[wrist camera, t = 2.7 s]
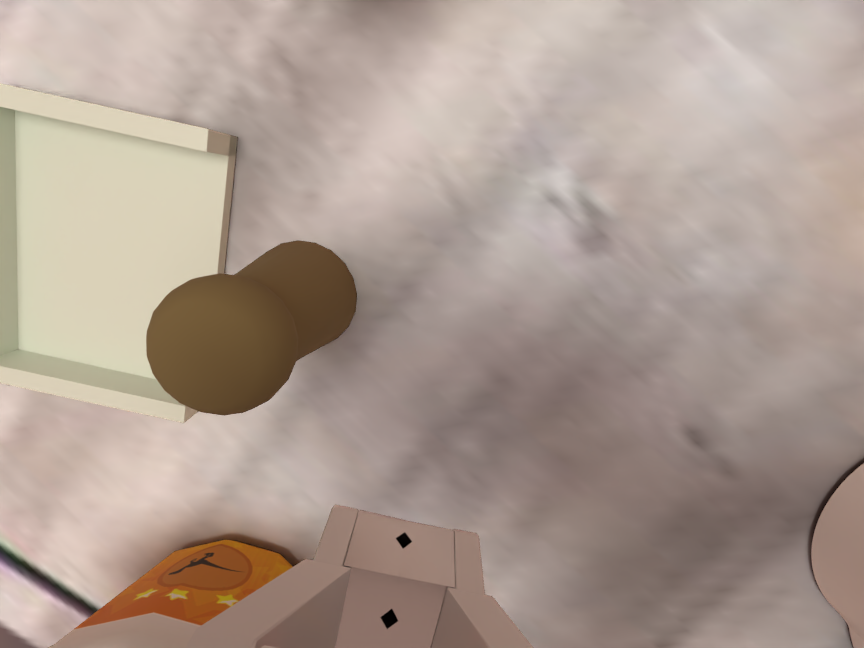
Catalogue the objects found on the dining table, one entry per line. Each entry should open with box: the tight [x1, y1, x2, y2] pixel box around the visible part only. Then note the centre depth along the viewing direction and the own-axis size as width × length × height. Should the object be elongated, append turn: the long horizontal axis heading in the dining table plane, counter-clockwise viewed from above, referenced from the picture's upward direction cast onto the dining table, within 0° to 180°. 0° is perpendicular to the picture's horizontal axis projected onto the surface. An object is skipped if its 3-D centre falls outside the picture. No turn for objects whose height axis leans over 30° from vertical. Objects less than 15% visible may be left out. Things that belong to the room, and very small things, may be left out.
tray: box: [0, 83, 238, 423], centre depth 25 cm, size 12×15×3 cm
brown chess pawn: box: [146, 241, 357, 415], centre depth 21 cm, size 6×6×11 cm
